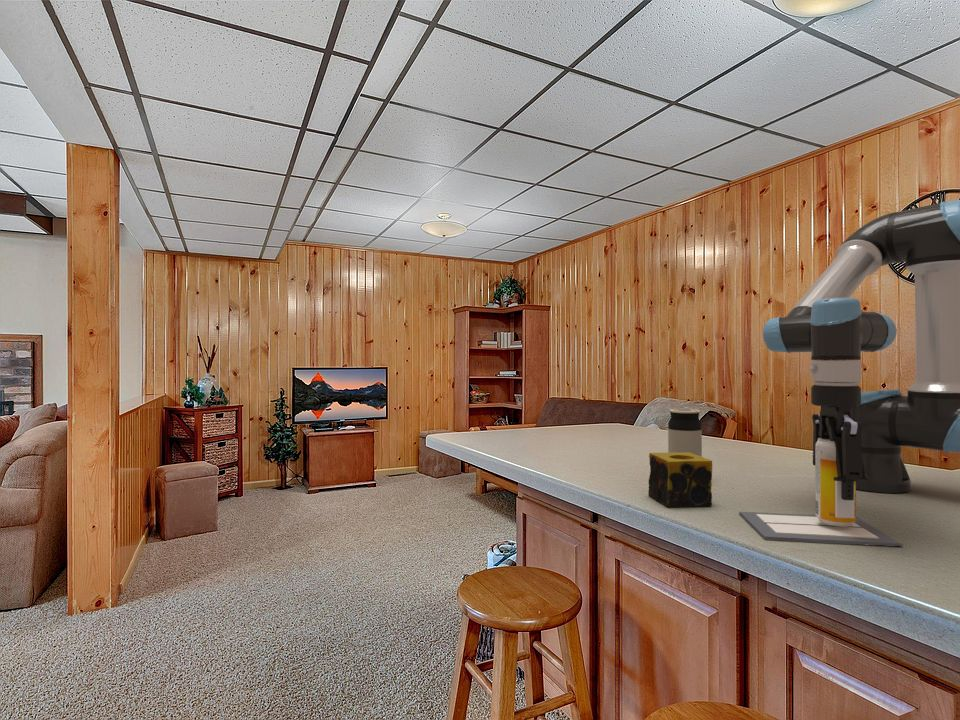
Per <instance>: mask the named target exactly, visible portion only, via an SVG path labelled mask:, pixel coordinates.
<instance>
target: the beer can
mask: <svg viewBox="0 0 960 720" xmlns="http://www.w3.org/2000/svg"><path fill="white" fill-rule="evenodd" d="M814 466H815V467H814V469H815V471H814V472H815V479H814V481H815V482H814V483H815V487H814V489H815V515H816V517H817V518H818V519H819V521H820V522H822V523H825V524H828V525H833V526H842V527H847V526H852V524H853V523H854V522H855V521H856V517H857V507H856V506H857V491H856V490H857V489H856V481H854V518H837V517H835V480H834V477H838V474H837V467H836V447H835V442H834V441H830V439H822V438H818V441H817V442H816V444H815V465H814Z"/></svg>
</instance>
